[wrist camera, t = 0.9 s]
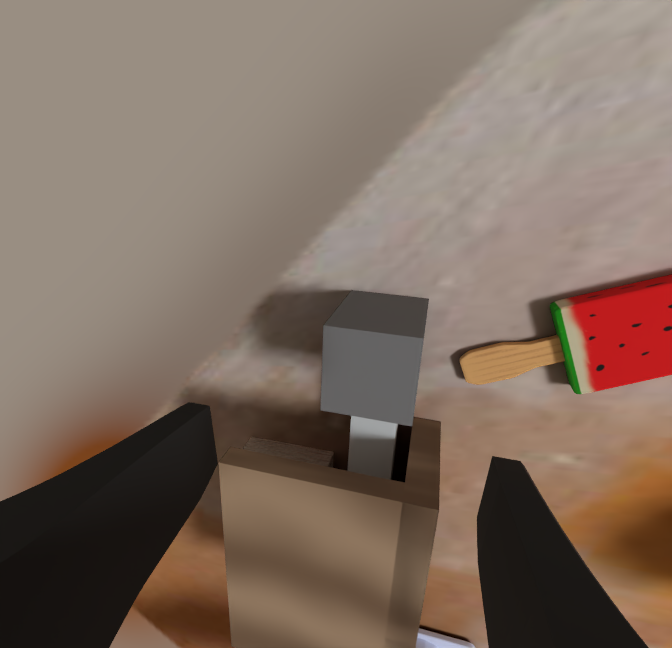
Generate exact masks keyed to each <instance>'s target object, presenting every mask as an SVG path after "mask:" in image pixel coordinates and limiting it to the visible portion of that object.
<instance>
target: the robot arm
mask: <svg viewBox="0 0 672 648" xmlns="http://www.w3.org/2000/svg"><path fill="white" fill-rule="evenodd" d="M217 464H218V462H217V455H216V448H215V441H214V434H213V427H212V419H211V412H210V406H207V405H201V404H196V403H190V402H189V403H187V404H185V405H183V406H181V407H179V408H178V409H176V410H174V411H172V412H170V413H169V414H167V415H165V416H164V417H162V418H160V419H158V420H157V421H155V422H153V423H152V424H150V425H148V426H147V427H145V428H143V429H141V430H140V431H138V432H136V433H134V434H133V435H131V436H129V437H128V438H126V439H124V440H122V441H121V442H119V443H117V444H115V445H114V446H112V447H110V448H108V449H106V450H105V451H103V452H101V453H99V454H97V455H95V456H94V457H92V458H90V459H88V460H86V461H84V462H82V463H80V464H78V465H77V466H75V467H73V468H71V469H69V470H67V471H65V472H63V473H61V474H59V475H58V476H55V477H53V478H51V479H49V480H47V481H45V482H43V483H41V484H39V485H37V486H34V487H32V488H30V489H28V490H25V491H23V492H21V493H19V494H17V495H15V496H12V497H10V498H7V499H5V500H3V501H0V648H109V647H110V645H111V643H112V641H113V639H114V637H115V636H116V634H117V632H118V630H119V628H120V627H121V625H122V623H123V621H124V619H125V617H126V615H127V614H128V612H129V610H130V608H131V606H132V604H133V603H134V601H135V599H136V597H137V596H138V594H139V592H140V591H141V589H142V587H143V586H144V584H145V583H146V581H147V579H148V578H149V576H150V575H151V573H152V572H153V570H154V569H155V567H156V566H157V564H158V563H159V561H160V560H161V558H162V557H163V555H164V554H165V552H166V551H167V549H168V548H169V546H170V545H171V543H172V542H173V540H174V539H175V537H176V536H177V534H178V533H179V531H180V529H181V528H182V526H183V525H184V523H185V522H186V520H187V519H188V517H189V516H190V514H191V513H192V511H193V510H194V508H195V506H196V505H197V503H198V502H199V500H200V498H201V497H202V495H203V493H204V491H205V489H206V487H207V485H208V483H209V481H210V479H211V477H212V475H213V472H214V470H215V468H216V466H217ZM477 547H478V567H479V575H480V583H481V591H482V599H483V607H484V614H485V622H486V629H487V637H488V645H489V648H648V646H647V645H646V644H645V643H644V641H643V640H642V639H641V638H640V637H639V635H638V634H637V633H636V631H635V630H634V629H633V628H632V626H631V625H630V624H629V622H628V621H627V620H626V619H625V617H624V616H623V615H622V613H621V612H620V611H619V609H618V608H617V607H616V605H615V604H614V603H613V601H612V600H611V599H610V597H609V596H608V595H607V593H606V592H605V590H604V589H603V588H602V586H601V585H600V584H599V582H598V581H597V580H596V578H595V577H594V575H593V574H592V573H591V571H590V570H589V568H588V567H587V565H586V564H585V562H584V561H583V560H582V558H581V557H580V555H579V554H578V552H577V551H576V549H575V548H574V546H573V545H572V543H571V542H570V540H569V539H568V537H567V536H566V534H565V533H564V531H563V530H562V528H561V526H560V525H559V523H558V522H557V520H556V519H555V517H554V515H553V514H552V512H551V511H550V509H549V507H548V506H547V504H546V502H545V501H544V499H543V497H542V496H541V494H540V492H539V491H538V489H537V487H536V486H535V484H534V482H533V480H532V479H531V477H530V475H529V473H528V472H527V470H526V468H525V466H524V465H523V464H522V463H521V461H517V460H511V459H506V458H500V457H494V456H492V460H491V464H490V468H489V472H488V476H487V480H486V484H485V488H484V491H483V495H482V499H481V503H480V507H479V511H478V515H477ZM416 648H475V646H474V645H473V644H472V643H470V642H467V641H463V640H460V639H456V638H452V637H449V636H445V635H442V634H438V633H435V632H431V631H427V630H424V629H420V628H419V630H418V636H417V642H416Z"/></svg>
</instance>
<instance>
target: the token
mask: <svg viewBox="0 0 672 648" xmlns="http://www.w3.org/2000/svg"><path fill="white" fill-rule="evenodd" d="M243 449H244V450H249V451H254V452H259V453H263V454H268V455H273V456H278V457H283V458H288V459H292V460H297V461H302V462H307V463H312V464H317V465H322V466H326V467H331V468H333V456H334V452H332V451H326V450H321V449H316V448H310V447H305V446H300V445H294V444H289V443H284V442H279V441H273V440H268V439H263V438H257V437H251V438H250V439H249V441H248V442H247V444H246V445H245V446H244V448H243Z"/></svg>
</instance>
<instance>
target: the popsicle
mask: <svg viewBox="0 0 672 648" xmlns="http://www.w3.org/2000/svg"><path fill="white" fill-rule="evenodd" d="M550 310H551V314H552V318H553V322H554V326H555V330H556V334H557V335H555V336H551V337H546V338H542V339H538V340H534V341H529V342H502V343H498V344H493V345H489V346H485V347H481V348H477V349H473V350H470V351H467V352H466V353H465V354H464V355H462V356H461V357H460V364H461V367H462V370H463V373H464V376H465V380H466V382H468V383H472V384H477V385H481V384H486V383H491V382H495V381H500V380H505V379H510V378H514V377H516V376H518V375H520V374H522V373H525V372H527V371H529V370H531V369H533V368H536V367H540V366H545V365H549V364H554V363H559V362H563V361H564V365H565V369H566V373H567V377H568V381H569V384H570V386H571V387H572V389H573V391H574V393H576V394H586V393H591V392H595V391H600V390H604V389H609V388H613V387H618V386H623V385H627V384H632V383H636V382H641V381H645V380H650V379H654V378H659V377H664V376H668V375H672V274H671V275H667V276H662V277H658V278H654V279H649V280H645V281H641V282H636V283H632V284H627V285H623V286H619V287H614V288H610V289H606V290H601V291H597V292H592V293H588V294H584V295H579V296H575V297H571V298H566V299H562V300H558V301H555V302H553V303H551V304H550Z"/></svg>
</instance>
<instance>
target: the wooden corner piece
mask: <svg viewBox="0 0 672 648" xmlns="http://www.w3.org/2000/svg"><path fill="white" fill-rule="evenodd" d="M440 431H441V422H438V421H432V420H427V419H421V418H415V417H414V418H413V425H412V433H411V441H410V448H409V456H408V464H407V471H406V479H405V483H404V482H399V481H394V480H389V479H384V478H380V477H375V476H370V475H365V474H360V473H355V472H351V471H346V470H341V469H336V468H331V467H326V466H322V465H317V464H312V463H307V462H302V461H297V460H292V459H288V458H283V457H278V456H273V455H268V454H263V453H259V452H254V451H249V450H244V449H239V448H234V447H230V448H229V450H228V451H227V452H226V453H225V455H224V456H223V457H222V459H221V460H220V461H219V462H218V463H219V477H220V491H221V505H222V519H223V533H224V547H225V561H226V575H227V589H228V603H229V617H230V631H231V645H232V647H235V648H416V642H417V636H418V630H419V624H420V619H421V613H422V607H423V601H424V595H425V589H426V583H427V578H428V572H429V566H430V560H431V554H432V548H433V542H434V537H435V531H436V525H437V519H438V513H439V484H440Z"/></svg>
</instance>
